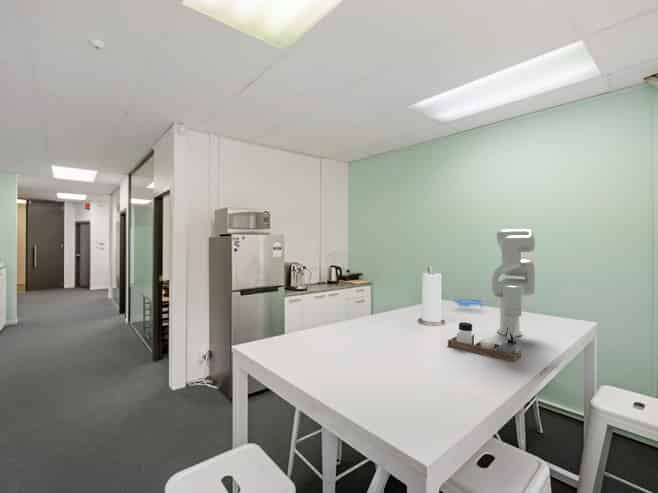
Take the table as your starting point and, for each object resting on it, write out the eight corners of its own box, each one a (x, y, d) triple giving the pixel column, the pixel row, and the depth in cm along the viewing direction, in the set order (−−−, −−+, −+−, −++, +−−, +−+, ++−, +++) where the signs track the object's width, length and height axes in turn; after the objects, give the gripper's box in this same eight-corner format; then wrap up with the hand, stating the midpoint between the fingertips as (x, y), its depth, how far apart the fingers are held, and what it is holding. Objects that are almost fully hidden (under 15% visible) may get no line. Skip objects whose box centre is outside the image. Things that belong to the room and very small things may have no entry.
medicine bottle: (472, 350, 152) (472, 325, 152) (456, 347, 156) (456, 323, 156) (473, 346, 158) (474, 322, 158) (458, 343, 162) (458, 320, 162)
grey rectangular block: (504, 352, 149) (504, 342, 149) (515, 355, 145) (516, 344, 145) (497, 357, 142) (497, 346, 142) (509, 360, 139) (510, 349, 139)
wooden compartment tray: (457, 341, 166) (457, 335, 166) (521, 355, 145) (521, 349, 145) (447, 346, 158) (448, 340, 158) (514, 361, 137) (514, 355, 137)
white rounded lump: (483, 348, 154) (483, 338, 154) (496, 351, 150) (496, 341, 150) (478, 351, 150) (478, 341, 150) (491, 354, 146) (491, 344, 146)
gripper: (508, 307, 156) (507, 344, 157) (498, 313, 146) (497, 352, 146) (525, 310, 151) (524, 348, 151) (516, 315, 140) (516, 356, 141)
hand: (511, 350), depth 149 cm, fingers closed
